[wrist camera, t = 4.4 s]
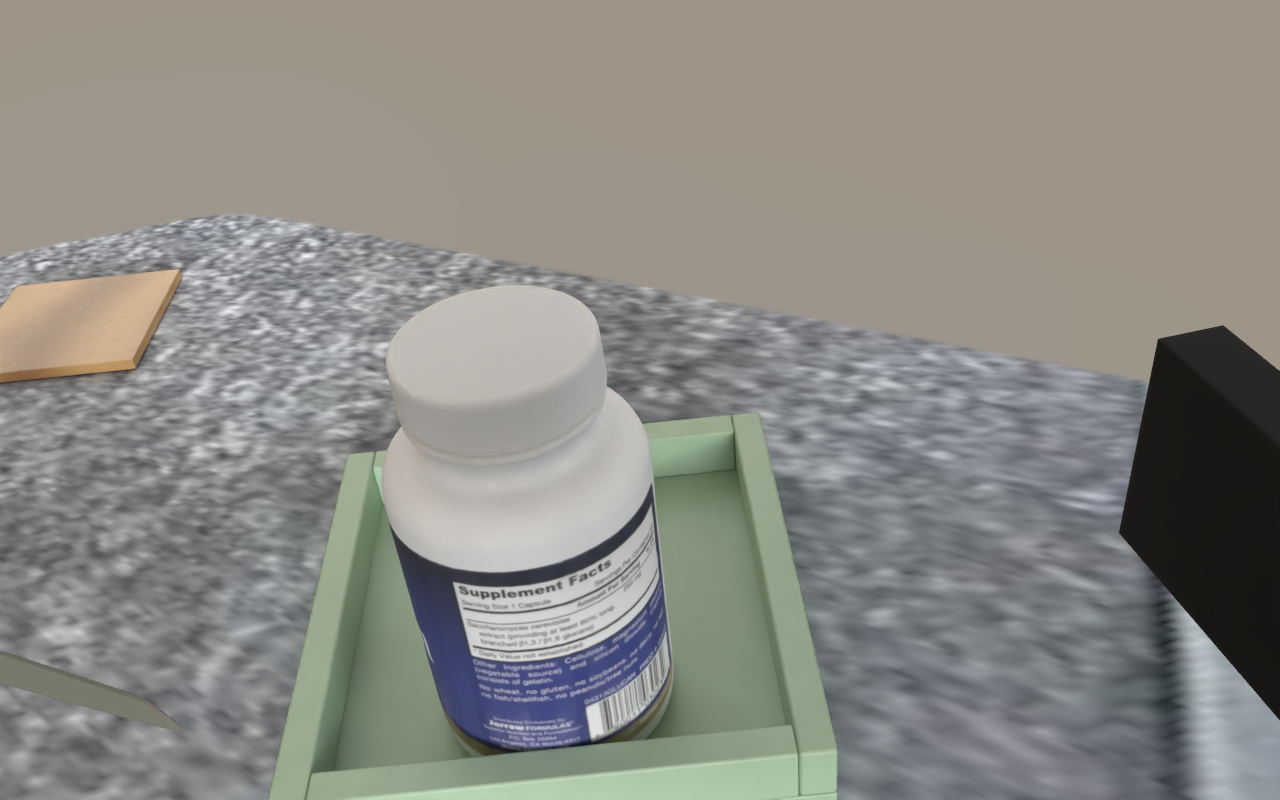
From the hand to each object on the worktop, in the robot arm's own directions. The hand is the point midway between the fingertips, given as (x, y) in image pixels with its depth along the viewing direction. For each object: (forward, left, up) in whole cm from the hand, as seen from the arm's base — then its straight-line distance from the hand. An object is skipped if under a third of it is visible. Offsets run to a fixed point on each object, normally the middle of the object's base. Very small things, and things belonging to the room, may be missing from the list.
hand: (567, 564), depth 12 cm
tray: (+2, -12, -13) cm, 18 cm away
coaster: (+20, -29, -13) cm, 38 cm away
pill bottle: (+2, -10, -13) cm, 16 cm away
